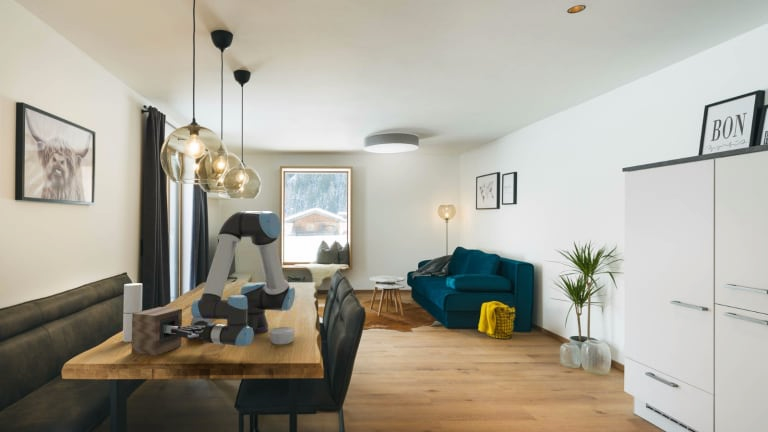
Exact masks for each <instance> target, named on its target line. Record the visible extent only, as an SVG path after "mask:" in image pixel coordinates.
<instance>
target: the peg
mask: <svg viewBox="0 0 768 432" xmlns="http://www.w3.org/2000/svg"><path fill="white" fill-rule="evenodd" d="M166 326H172V324H171V323H164V335H168V334H170V333H166Z"/></svg>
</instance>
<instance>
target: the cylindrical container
mask: <svg viewBox="0 0 768 432" xmlns="http://www.w3.org/2000/svg"><path fill="white" fill-rule="evenodd" d="M122 311H123V312H122V313H123V315H122V316H123V317H122V321H123V323H122V324H123V325H122V342H125V343H128V342H131V343H132V314H133V313H137V312H141V311H143V283H141V282H140V283H139V282H137V283H135V282H134V283H124V285H123V310H122Z"/></svg>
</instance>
